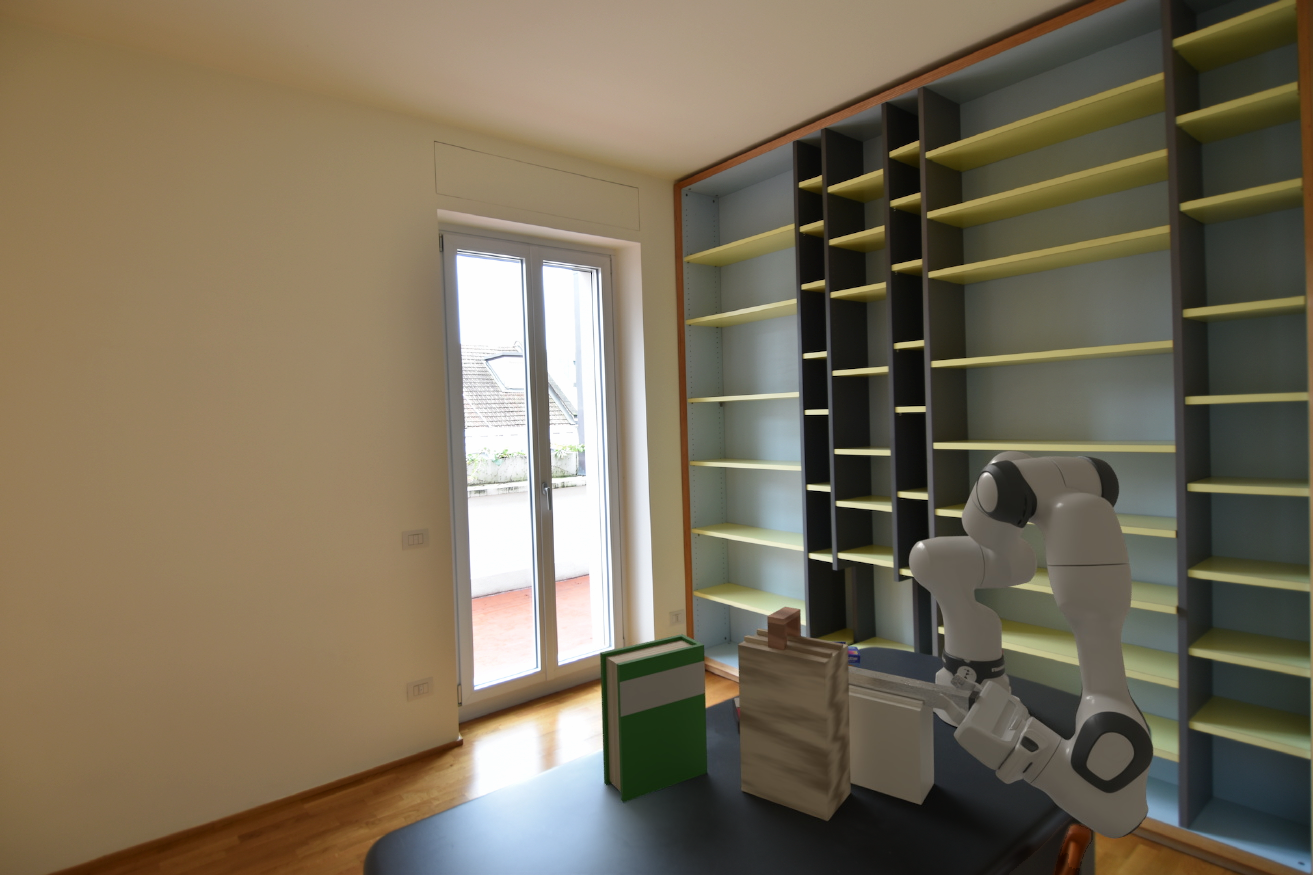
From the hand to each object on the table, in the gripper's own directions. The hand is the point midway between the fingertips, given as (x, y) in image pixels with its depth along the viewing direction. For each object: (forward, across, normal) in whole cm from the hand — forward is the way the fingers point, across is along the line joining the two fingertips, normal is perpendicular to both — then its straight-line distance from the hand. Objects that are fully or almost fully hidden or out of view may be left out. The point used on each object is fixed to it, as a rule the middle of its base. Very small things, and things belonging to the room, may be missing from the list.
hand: (946, 686), depth 115 cm
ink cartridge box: (+16, -27, +32) cm, 45 cm away
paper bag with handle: (+10, +12, +28) cm, 32 cm away
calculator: (+23, -10, +37) cm, 45 cm away
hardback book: (+29, +22, +40) cm, 54 cm away
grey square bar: (+4, 0, +7) cm, 8 cm away
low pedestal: (-1, 0, +22) cm, 22 cm away
